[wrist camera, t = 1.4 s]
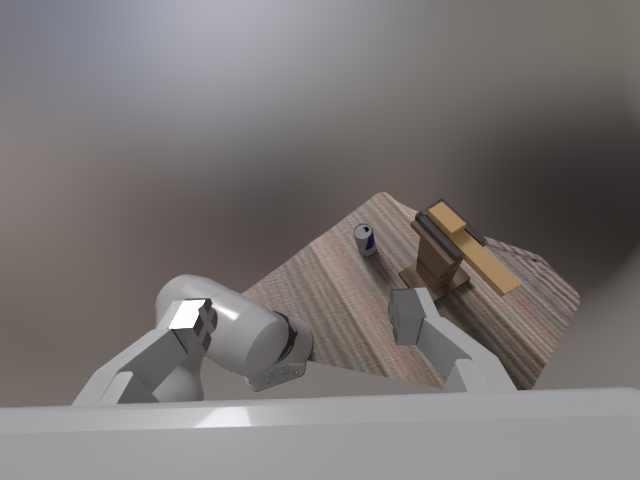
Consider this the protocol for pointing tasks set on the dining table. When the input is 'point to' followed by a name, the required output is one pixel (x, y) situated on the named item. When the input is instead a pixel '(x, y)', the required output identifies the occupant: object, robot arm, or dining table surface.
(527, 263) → the dining table surface
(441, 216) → the wooden stick
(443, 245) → the holder stand
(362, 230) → the energy drink
